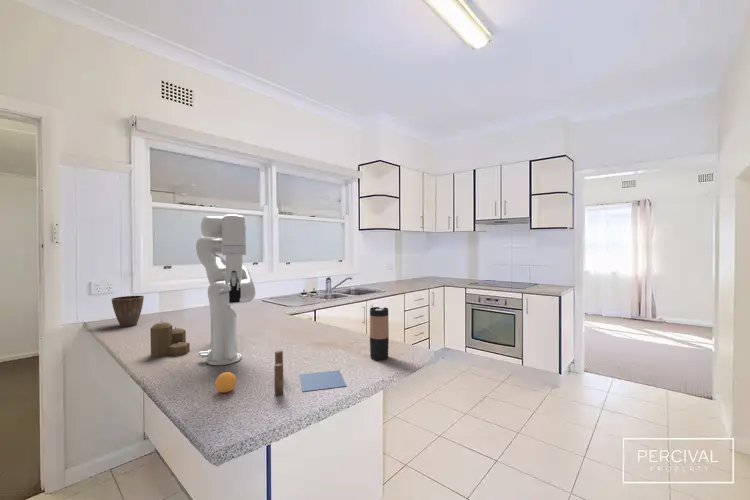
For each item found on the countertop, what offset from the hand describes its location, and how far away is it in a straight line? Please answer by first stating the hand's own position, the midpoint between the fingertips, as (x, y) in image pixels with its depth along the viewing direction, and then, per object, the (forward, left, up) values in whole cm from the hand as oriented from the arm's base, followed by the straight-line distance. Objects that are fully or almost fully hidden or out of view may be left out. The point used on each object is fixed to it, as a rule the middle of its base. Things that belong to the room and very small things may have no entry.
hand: (235, 300), depth 115 cm
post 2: (+14, -18, -27) cm, 35 cm away
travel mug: (+53, +5, -27) cm, 60 cm away
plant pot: (-69, +98, -27) cm, 123 cm away
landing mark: (+28, -11, -27) cm, 40 cm away
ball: (-2, -11, -24) cm, 26 cm away
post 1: (+14, -4, -27) cm, 31 cm away
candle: (-31, +37, -27) cm, 55 cm away
